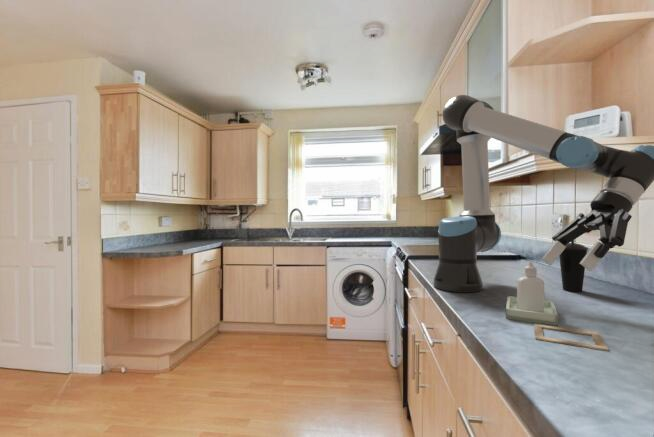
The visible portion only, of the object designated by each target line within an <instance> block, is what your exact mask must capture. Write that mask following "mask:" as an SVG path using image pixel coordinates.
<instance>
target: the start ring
mask: <svg viewBox="0 0 654 437" xmlns="http://www.w3.org/2000/svg"><path fill="white" fill-rule="evenodd" d="M533 327H534V335H535V339H536V340H539V341H544V342H551V343H557V344H562V345H563V344H564V345H567V346H568V345H570V346H575V347H580V346H582V347H581V348H587V347H588V349H593V350H600V351H607V352H609V351H610V348H609V347H608V346H607V344H606V343H605V341H604V340H603V338H602V336H601V335H600V334H599V332H595V331H589V330H581V329H575V328H566V327H559V326H554V325H547V324H540V323H534V324H533ZM543 329H546V330H551V331H552V330H553V331H560V332H567V333H572V334H573V333H574V334H580V335H581V334H582V335H587V336H591V337H592V339H593V341H594V342H595V344H592V343H586V342H579V341H573V340H567V339H566V340H565V339H559V338H553V337H548V336H547V337H546V336H544V332H543Z"/></svg>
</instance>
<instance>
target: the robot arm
mask: <svg viewBox="0 0 654 437" xmlns="http://www.w3.org/2000/svg"><path fill="white" fill-rule="evenodd" d="M442 120H443V122H444V124H445V126H447V127H448V128H449V129H451V130H452V131H455V132H456V142H457V143H459V144H460V145H461V169H462V170H461V173H462V196H463V197H462V198H463V199H462V200H463V201H462V202H463V203H462V204H463V211H462V212H461V213H460V214H459V216H449V217H444V218H442V219H441V220H439V222H438V230H437V232H438V265H437V268H436V270H435V271H436V272H435V274H434V277H433V287H434V288H437V289H439V290H442V291H446V292H455V293H476V292H481V291H482V290H483V288H484V287H483V286H484V285H483V284H484V283H483V279H482V276H481V274H480V271H479V267H478V266H477V253H484V252H488V251H490V250H492V249H494V248H495V247H497V245H498V244H499V242H500V241H501V238H502V230H501V227H500V226H499V224H498V223H497V222H496V213H494V212H493V211H492V210H491V203H490V202H491V201H490V177H489V170H490V169H489V147H488V143H489V141H490V140H491V139H494V140H496V141H500V142H502V143H505V144H508V145H510V146H513V147H516V148H518V149H522V150H524V151H527V152H529V153H532V154H534V155H538V156H539V157H543V158H545V159H547V160H551V161H552V162H556V163H558V164H560V165H562V166H565V167H567V168H569V169H572V170H573V169H575V170H580V171H585V172H587V173H592V174H595V175H598V176H602V177H606V178H609V179H608V180H607V181H606V183H605V184H604V185H603V187H602V188H601V189H600V190H599V192H598V193H597V194H596V196H595V197H594V198H593V199H592V201H591V202H590V208H591V210H590V212H589V213H587V214H584V213H582V212H580V213H578V214H577V216H576V217H574V219H573V220H571V221H570V222H569V223H568V224H566V225H565V226H564V227H563V228H562V229H560V230H559V231H558V232H557V233H555V234H554V235H553V236H552V237H551V239H552V240H553V241H554V243H553V244H552V246H551V247H550V248H549V249H548V251H547V252H546V253H545V255H544V256H543V257H542V258H541V260H542V261H543V262H544V263H545V264H547V265H548V266H550V267H551V266H553V265H554V263H555V262H556V260H557V259H558V258H560V257H559V256H560V254H561V253H562V252H563V250H564V249H565V248H566V244H568V243H571V241H573V240H574V241H575V240H576V239H577V238H579V237H581V236H582V235H583V234H586V233H587V234H588V233H591V232H593V231H599V236H600V238H598V241H596V242H595V243H594V244H593V246H592V247H591V248H590V249H588V250H589V251H587V254H586V256H585V257H584V258H583V259H582V261H581V262H580V264H581V265H582V266H584V267H585V270H588V272H589V271H590V272H592V271H593V270H594V269H595V267H596V266H597V264H598V263H599V262H600V261H601V260H602V259H603V257H605V256H606V255H607V253H608V252H609V250H611V249H613V248H615V247H616V246H618V247H619V248H620V247H622V246H624V244H625V241H626V240H625V239H626V235H627V231H628V230H627V229H628V224H629V223H630V220H631V219H632V217H633V216H632V215H631V214H630V212H631V210H632V208H633V206H635V205H636V203H637V202H638V201H639V200H640V198H641V197H642V196H643V195H644V193H645V192H646V190H647V189H648V188H649V187H650V185H652V183H653V182H654V145H651V144H647V145H642V144H641V145H638V146H635V147H634V148H633V149H632V150H630V151H629V150H624V149H618V148H615V147H612V146H607V145H603V144H601V143H598V142H596V141H594V140H593V139H592V138H589V137H588V136H583V135H577V134H573V133H570V132H567V131H563V130H560V129H557V128H554V127H552V126H549V125H544V124H542V123H538V122H535V121H532V120H529V119H526V118H521V117H519V116H515V115H512V114H508V113H506V112H502V111H499V110H495V108H494V107H493V106H492V105H490V103H488V102H486V101H483V100H479V99H476V98H475V97H473V96H471V95H465V94H459V95H456V96H454V97H452V98H450V99H448V101H447V102H446V103H445V105H444V107H443V110H442Z"/></svg>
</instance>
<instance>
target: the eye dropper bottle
mask: <svg viewBox="0 0 654 437" xmlns="http://www.w3.org/2000/svg"><path fill="white" fill-rule="evenodd" d="M537 272H538V271H537V267H536V266H534V263H533V261H529V262H528V263H527V266H525V267H524V276H521V277H519V278H518V279H517V280H516V281H517V282H516V283H517V284H516V288H517V289H516V297H517V308H518V309H519V310H525V311H533V312H543V311H544V300H545V281H544V279H542V278H540V277H537Z"/></svg>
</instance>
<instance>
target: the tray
mask: <svg viewBox="0 0 654 437" xmlns="http://www.w3.org/2000/svg"><path fill="white" fill-rule="evenodd" d="M505 306H506V307H505V319H507V320H513V321H514V320H515V321H521V322H527V323H534V324H541V325H548V326H555V327H559V314H558V310H557V309H556V306H555V302H554V301H553V300H550V299H549V300H548V299H544V311H543V312H533V311H525V310H519V309H518V308H517V296H511V295H510V296H509V295H507V297H506V305H505Z"/></svg>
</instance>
